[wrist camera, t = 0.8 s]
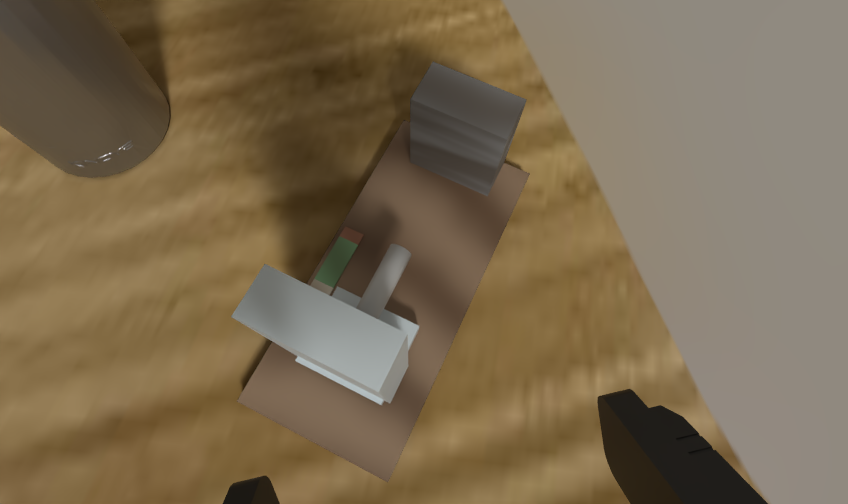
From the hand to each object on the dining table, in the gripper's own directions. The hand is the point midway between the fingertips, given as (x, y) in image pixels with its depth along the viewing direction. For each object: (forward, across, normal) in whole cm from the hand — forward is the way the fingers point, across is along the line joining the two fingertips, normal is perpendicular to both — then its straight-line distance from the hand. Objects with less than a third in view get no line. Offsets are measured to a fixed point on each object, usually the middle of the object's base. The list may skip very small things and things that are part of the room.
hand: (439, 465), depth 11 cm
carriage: (+18, +4, +3) cm, 19 cm away
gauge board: (+21, +1, +2) cm, 21 cm away
